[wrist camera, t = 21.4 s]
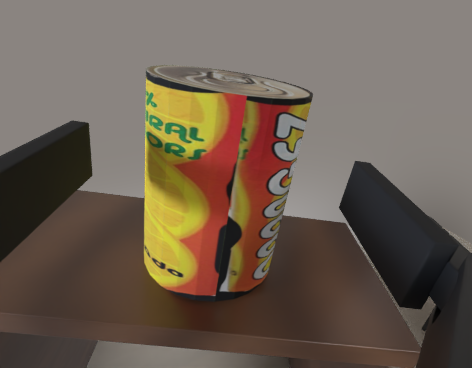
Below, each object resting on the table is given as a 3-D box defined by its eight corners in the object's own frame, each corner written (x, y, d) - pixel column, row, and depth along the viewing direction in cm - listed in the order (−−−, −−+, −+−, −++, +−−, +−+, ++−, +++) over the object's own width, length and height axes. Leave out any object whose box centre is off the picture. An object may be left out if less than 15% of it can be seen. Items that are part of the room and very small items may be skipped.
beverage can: (134, 303, 17) (133, 81, 11) (150, 215, 24) (153, 60, 19) (285, 300, 18) (344, 107, 13) (254, 219, 26) (283, 78, 21)
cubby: (299, 348, 36) (345, 222, 28) (330, 495, 25) (424, 352, 16) (88, 328, 34) (74, 189, 26) (14, 477, 23) (-53, 308, 15)
